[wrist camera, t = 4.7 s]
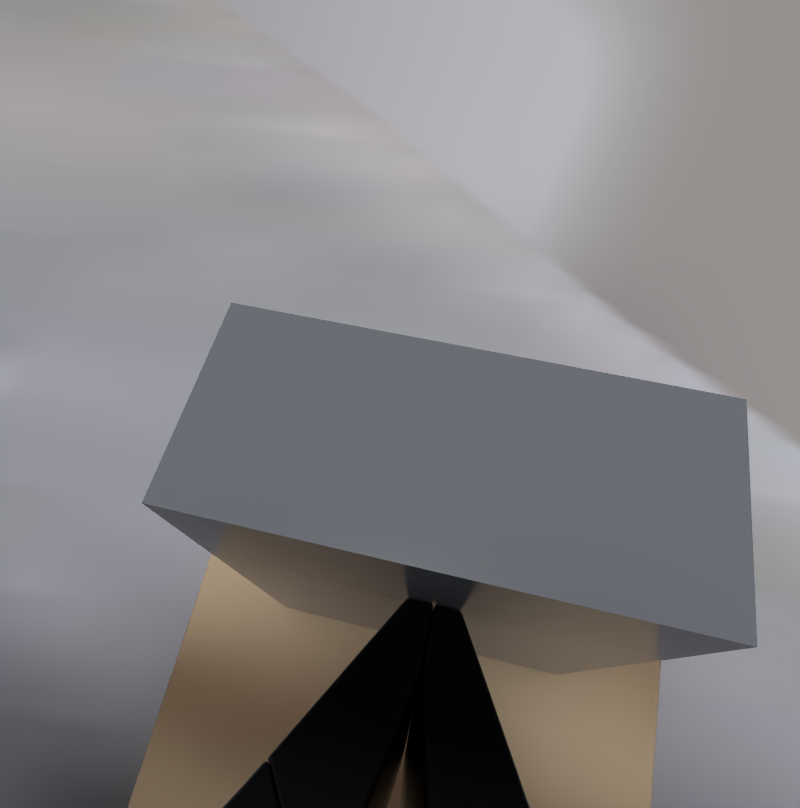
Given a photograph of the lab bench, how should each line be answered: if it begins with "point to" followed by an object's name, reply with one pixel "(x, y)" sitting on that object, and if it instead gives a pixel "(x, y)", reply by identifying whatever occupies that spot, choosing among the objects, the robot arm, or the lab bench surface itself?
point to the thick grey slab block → (467, 492)
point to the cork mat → (329, 656)
